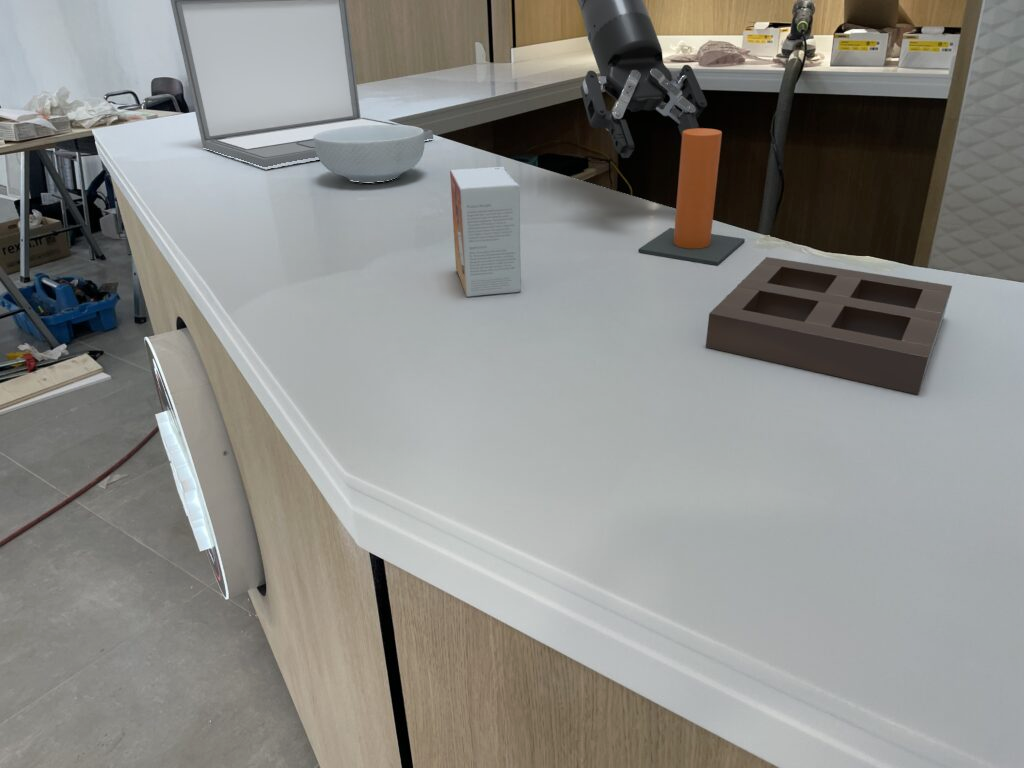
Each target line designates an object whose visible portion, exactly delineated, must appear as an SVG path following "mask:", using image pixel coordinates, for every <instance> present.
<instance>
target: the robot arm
mask: <svg viewBox="0 0 1024 768" xmlns="http://www.w3.org/2000/svg"><path fill="white" fill-rule="evenodd" d="M576 1H577V4H578V7H579V9H580V13H581V15H582V19H583V24H584V30H585V34H586V37H587V40H588V43H589V46H590V48H591V52H592V54H593V57H594V60H595V63H596V65H597V68H598V71H599V74H600V75H598V74H597V73H596V71H595V70H588V71H587V72H586V74H585V76H584V79H583V81H582V83H581V86H580V88H579V89H580V92H581V97H582V101H583V105H584V108H585V111H586V115H587V119H588V122H589V126H590V127H591V128H593V129H598V128H600V127H601V128H605V130H606V131H607V132H609V135H610V138H611V141H612V144H613V147H614V149H615V151H616V153H617V154H619V155H620V156H621V158H622V159H628V158H630V157H631V155H632V154H633V153H634V150H635V142H634V139H633V137H632V134H631V131H630V128H629V125H628V122H627V120H626V119H625V118H624V119H623V117H624V114H625V112H626V110H630V113H636V112H637V113H638V112H639V111H642V110H643V111H657V112H658V113H660V114H661V115H662V116H663V117H670V118H671V119H672V120H674V122H676V123H677V124H678V126H677V128H678V131H679V134H680V136H681V137H682V132H683V131H684V130H687V129H696V128H700V126H699V123H698V118H699V117H700V116H701V114H702V113H703V111H704V110H705V109H706V107H707V106H708V101H707V100H706V97H705V94H704V92H703V90H702V88H701V85H700V83H699V80H698V79H697V77H696V74H695V72H694V70H693V68H692V67H691V65H689V64H683V65H682V67H681V69H680V70H673V71H671V70H670V69H669V68H667V66H666V65H665V64H664V57H663V49H662V46H661V43H660V41H659V38H658V36H657V35H658V34H657V33H656V30H655V27H654V25H653V22H652V19H651V17H650V13H649V11H648V9H647V6H646V3H645V1H644V0H576ZM603 91H605V92H606V93H607V94H608V95H609V96H611V97H612V98H613V99H614V100H615V102H614V104H613V107H612V109H611V110H607V107H606V106H607V105H606V103H605V98H604V95H603ZM666 95H668V96H669V100H668V101H667V103H666V102H665V101H664V99H665V97H666ZM676 106H677V107H676ZM678 108H679V109H680V110H679V109H678ZM681 110H682V111H681Z"/></svg>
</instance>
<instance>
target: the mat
mask: <svg viewBox="0 0 1024 768" xmlns="http://www.w3.org/2000/svg"><path fill="white" fill-rule="evenodd" d="M674 229H675V227H669V228H668V229H666V230H665V231H664V232H662V233H660V234H659V235H657V236H656V237H654V238H653V239H651V240H650V241H648V242H647V243H645V244H644V245H642V246H641V247H639V248H638V253H640V254H647V255H653V256H658V257H663V258H664V257H665V258H670V259H677V260H683V261H688V262H694V263H701V264H707V265H712V266H719V265H720V264H721V263H722V262H723V261H724V260H726V259H727V258H728V257H729V256H730V255H731V254H733V253H734V252H735V251H736V250H737V249H738V248H740V247H741V245H743V244H744V243H745V242H746V238H743V237H736V236H729V235H723V234H722V235H721V234H714V233H711V240H710V245H709V246H708V247H705V248H700V249H687V248H682V247H678V246H676V245H675V244H674Z"/></svg>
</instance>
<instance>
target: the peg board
mask: <svg viewBox="0 0 1024 768" xmlns="http://www.w3.org/2000/svg"><path fill="white" fill-rule="evenodd" d="M952 289H953V285H949V284H944V283H943V284H942V283H937V282H931V281H930V282H929V281H924V280H917V279H911V278H905V277H898V276H891V275H885V274H879V273H873V272H872V273H871V272H866V271H859V270H852V269H848V268H847V269H846V268H840V267H834V266H826V265H821V264H814V263H809V262H801V261H795V260H788V259H782V258H776V257H769V256H765V257H764V259H763V260H761V262H760V263H758V265H757V266H756V267H755V268H754V269H753V270H752V271H751V272H750V273H748V274H747V276H745V278H743V280H742V281H741V282H739V283H738V284H737V285H736V287H735V288H733V290H731V291H730V292H729V293H728V294H727V295H726V296H725V298H724V299H723V300H721V301H720V302H719V303H718V305H716V306H715V307H714V308H713V309H712V310H711V311H710V312H709V313H708V321H707V331H706V338H705V339H706V341H705V348H708V349H713V350H717V351H722V352H725V353H731V354H735V355H738V356H743V357H748V358H752V359H757V360H761V361H766V362H770V363H775V364H779V365H783V366H788V367H793V368H797V369H802V370H806V371H810V372H815V373H820V374H823V375H829V376H832V377H837V378H842V379H846V380H851V381H854V382H859V383H862V384H863V383H864V384H868V385H873V386H878V387H883V388H887V389H890V390H895V391H900V392H904V393H909V394H913V395H917V396H918V395H919V394H920V390H921V388H922V384H923V381H924V378H925V375H926V372H927V369H928V367H929V363H930V360H931V357H932V353H933V352H934V348H935V345H936V342H937V339H938V336H939V333H940V330H941V327H942V324H943V320H944V318H945V315H946V310H947V307H948V303H949V299H950V296H951V292H952Z"/></svg>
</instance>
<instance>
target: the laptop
mask: <svg viewBox="0 0 1024 768" xmlns="http://www.w3.org/2000/svg"><path fill="white" fill-rule="evenodd" d="M347 1H348V0H170V5H171V9H172V14H173V19H174V23H175V27H176V32H177V36H178V40H179V45H180V51H181V53H182V59H183V63H184V68H185V73H186V77H187V81H188V85H189V90H190V94H191V100H192V104H193V108H194V114H195V118H196V122H197V126H198V127H197V128H198V130H199V136H200V140H201V144H202V148H206V149H209V150H212V151H215V152H218V153H221V154H224V155H227V156H231V157H234V158H238V159H241V160H244V161H247V162H250V163H253V164H256V165H259V166H262V167H268V166H273V165H277V164H281V163H286V162H292V161H297V160H303V159H308V158H315V157H318V156H317V154H316V150H315V145H314V135H316V134H318V133H321V132H324V131H328V130H333V129H339V128H346V127H354V126H365V125H400V124H398V123H394V122H388V121H383V120H377V119H373V118H366V117H361V109H360V101H359V92H358V86H357V85H358V83H357V76H356V75H357V74H356V68H355V60H354V51H353V43H352V42H353V41H352V35H351V25H350V17H349V9H348V2H347ZM422 129H423V131H424V138H425V139H424V140H427V139H433V140H434V131H433V130H431V129H425V128H422ZM206 149H205V150H206Z"/></svg>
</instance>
